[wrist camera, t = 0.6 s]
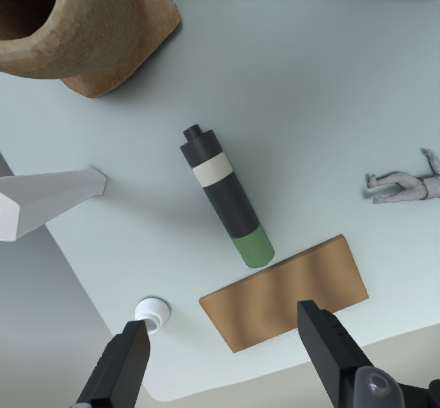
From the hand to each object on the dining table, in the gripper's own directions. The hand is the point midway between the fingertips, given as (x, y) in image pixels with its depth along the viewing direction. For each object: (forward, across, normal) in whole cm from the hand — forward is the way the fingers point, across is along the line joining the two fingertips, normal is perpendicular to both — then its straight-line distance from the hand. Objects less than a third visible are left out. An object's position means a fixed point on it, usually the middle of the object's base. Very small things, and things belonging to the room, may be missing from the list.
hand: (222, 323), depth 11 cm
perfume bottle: (+18, +14, -7) cm, 24 cm away
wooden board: (+18, -9, +13) cm, 23 cm away
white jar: (+18, +11, +13) cm, 25 cm away
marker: (+17, -2, -3) cm, 17 cm away
